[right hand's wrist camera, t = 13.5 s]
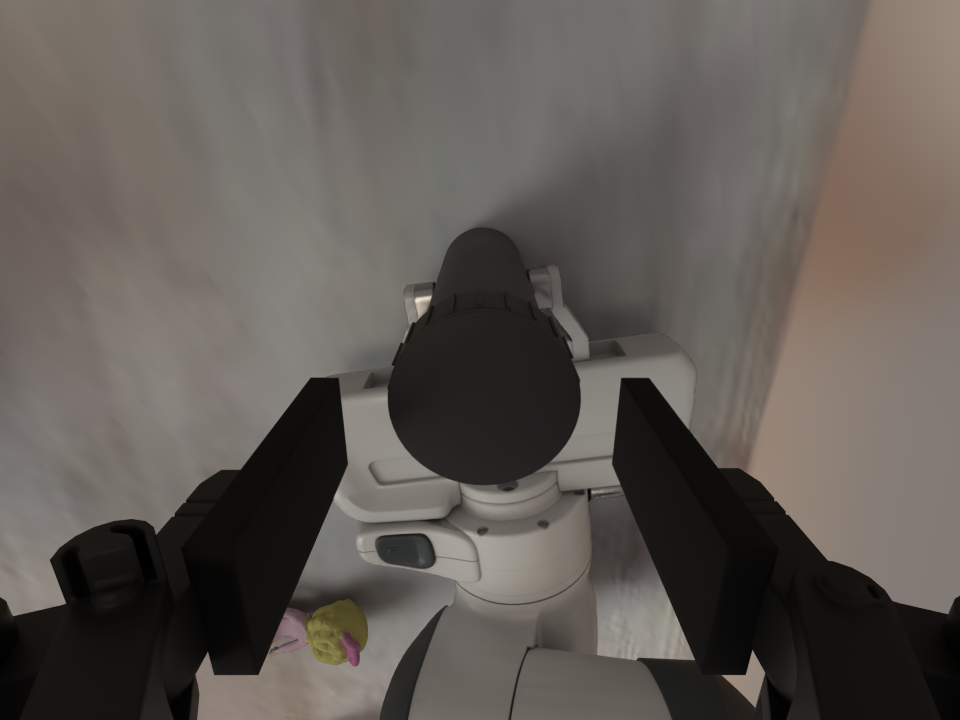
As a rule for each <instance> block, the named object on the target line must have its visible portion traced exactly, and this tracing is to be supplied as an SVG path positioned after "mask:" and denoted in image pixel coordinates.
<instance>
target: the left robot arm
mask: <svg viewBox="0 0 960 720" xmlns="http://www.w3.org/2000/svg"><path fill="white" fill-rule="evenodd" d="M527 276H528V279H529V282H530V285H531V287H532V290H533V293H534V296H535V298H536V301H537V304H538V307H539V309H549V308H550V310H551V312H552V313H553V314H554V316H555V317H556V318H557V320H558V321H559V322H560V324H561V325H562V326H563V327H561V328H557V330H558V331H559V333H560V335H561V337H563V336H564V337H565V339H566V341H567V343H568V346H569V348H570V350H571V352H572V355H573V357H574V358H573V359H572V361H573V364H574V366H575V368H576V371H577V373H578V375H579V378H580V381H581V383H580V389H581V406H580V414H579V417H578V421H577V425H576V427H575V429H574V431H573V434H572V436H571V437H570V439H569V441H568V442H567V444H566V445H565V447H564V448H563V449H562V450H561V452H560V453H559V454H558V455H557V456H556V457H555V458H554V459H553V460H552V461H551V462H549V463H548V464H547V465H545V466H544V467H543V468H541V469H540V470H538V471H536V472H534V473H533V474H531V475H529V476H526V477H524V478H522V479H519V480H516V481H512V482H509V483H503V484H498V485H471V484H465V483H460V482H456V481H452V480H449V479H447V478H444V477H442V476H439V475H438V474H436V473H434V472H432V471H430V470H429V469H427V468H426V467H424V466H423V465H421V464H420V463H419V462H418V461H417V460H416V459H414V458H413V457H412V456H411V455H410V453H409V452H408V451H407V450H406V449H405V448H404V446H403V445H402V443H401V442H400V440H399V439H398V437H397V435H396V433H395V431H394V429H393V426H392V423H391V420H390V416H389V410H388V390H387V387H388V384H389V381H390V377H391V374H392V371H393V368H394V367H390V368H382V369H374V370H367V371H359V372H351V373H343V374H335V375H330V376H328V377H326V378H339V383H340V393H341V402H342V411H343V420H344V430H345V439H346V448H347V458H348V466H347V468H346V471H345V473H344V475H343V478H342V480H341V482H340V485H339V487H338V489H337V492H336V494H335V496H334V499H333V500H334V502H335V503H336V504H337V506H338V507H339V508H340V509H341V510H342V511H343V512H344V513H345V514H347V515H348V516H350V517H352V518H353V519H356V520H359V522H358V528H357V535H356V546H357V550H358V553H359V555H360V556H361V558H362V559H363V560H365V561H367V562H369V563H372V564H377V565H383V566H391V567H398V568H404V569H410V570H416V571H421V572H426V573H431V574H435V575H439V576H442V577H446V578H449V579H452V580H454V581H455V584H456V594H455V599H454V602H453V604H452V605H451V606H447V605H446V606H445V607H443V608H442V609H441V610H440V611H439V612H438V613H437V614H436V615H435V616H434V617H433V618H432V619H431V620H430V621H429V623H428V624H427V625H426V627H425V628H424V629H423V630H422V631H421V633H420V634H419V635H418V636H417V638H416V639H415V640H414V641H413V643H412V644H411V645H410V647H409V648H408V649H407V651H406V652H405V654H404V655H403V657H402V659H401V661H400V662H399V664H398V666H397V668H396V670H395V672H394V675H393V677H392V680H391V682H390V685H389V687H388V690H387V693H386V696H385V699H384V702H383V706H382V710H381V714H380V720H753V716H754V712H755V707H754V706H753V705H752V704H751V703H750V702H749V701H748V700H747V699H746V698H745V697H744V696H743V695H742V694H741V693H740V692H739V691H738V690H737V689H736V688H735V687H734V686H733V685H732V684H731V683H729V682H728V681H727V680H726V679H725V678H724V677H723V676H722V675H701V672H700V670H699V668H698V665H697V663H696V661H695V660H677V659H654V658H638V659H637V660H629V659H622V658H614V657H607V656H600V655H597V644H598V629H597V606H596V596H595V592H594V588H593V585H592V583H591V580H590V578H589V576H588V572H589V569H590V565H591V560H592V540H591V527H590V514H589V504H588V501H590V500H593V499H602V498H611V497H618V496H621V495H622V496H623V495H625V494H624V492H623V489H622V487H621V485H620V482H619V480H618V478H617V475H616V473H615V471H614V468H613V466H612V458H613V448H614V439H615V430H616V420H617V411H618V402H619V393H620V383H621V378H650V379H651V381H652V382H653V383H654V385H655V386H656V387H657V389H658V390H659V391H660V393H661V394H662V395H663V397H664V398H665V399H666V400H667V402H668V403H669V404H670V406H671V407H672V408H673V410H674V411H675V412H676V414H677V415H678V416H679V418H680V419H681V420H682V422H683V423H684V424H685V425H686V427H687V428H688V429H689V431H690V425H691V420H692V414H693V407H694V399H695V389H696V367H695V364H694V362H693V360H692V359H691V357H690V356H689V355H688V353H687V352H686V351H685V350H684V349H683V348H682V347H681V346H680V345H679V344H678V343H676V342H675V341H674V340H672V339H671V338H670V337H669V336H667V335H666V334H664V333H650V334H642V335H635V336H627V337H619V338H612V339H604V340H596V341H588V336H587V335H586V333H585V331H584V329H583V327H582V326H581V324H580V323H579V321H578V320H577V319H576V317H575V316H574V314H573V313H572V312H571V310H570V309H569V308H568V306H567V305H566V304H565V302H564V301H563V300H562V290H561V278H560V273H559V269H558V267H557V266H556V264H555V265H548V266H541V267H534V268H528V269H527ZM435 285H436V283H435V282H428V283H420V284H411V285H406V287H405V289H404V302H405V307H406V312H407V317H408V322H409V325H408V327H407V330H406V333H405V335H404V338H403V341H402V343H404V341H405V339H406V336H407V334H408V331H409V329H410V326H411V324H412V322H415V323H416V322H417V320H418V319H419V318H420V317H421V316H422V315H423V314H424V313H425V312H427V309H428V306H429V303H430V300H431V297H432V294H433V291H434V288H435ZM762 720H763V717H762Z"/></svg>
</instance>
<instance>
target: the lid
mask: <svg viewBox="0 0 960 720" xmlns="http://www.w3.org/2000/svg"><path fill="white" fill-rule="evenodd" d="M573 358H574V357H573V355H572V352H571V350H570V348H569V346H568V343H567V341H566V339H565V337H564V336H563V337H561V335H560V333H559V331H558V330H557V328H556V327H555V324H554V322H553V320H552V318H551V317H550V316H549V317H547V316H546V315H545V314H544V313H543V312H541V311H540V310H539V309H538V308H536V307H535V306H534V305H533V302H531V301H529V302H527V301H525V300H522V299H520V298H518V297H515V296H512V295H509V293H508V292H506V291H505V293H500V292H494V291H482V289H478V291H475V292H468V293H463V294H459V295H456V293H455V294H452V297H450V298H447V299H446V300H444V301H442V302H440V303H438V304H436V305H435V306H433V305H430V306H429V309H428V311H427V312H425V313H424V314H423V315H422V316H421V317H420V318H419V319H418V320H417V322H416V323H415V322H412V324H411V326H410V329H409V331H408V334H407V336H406V339H405V341H404V343H402V342H401V344H400V346H399V348H398V351H397V353H396V356H395V358H394V360H393V363H392V365H393V366H394V368H393V371H392V374H391V377H390V381H389V384H388V387H387V390H388V410H389V416H390V420H391V423H392V426H393V429H394V431H395V433H396V435H397V437H398V439H399V440H400V442H401V443H402V445H403V446H404V448H405V449H406V450H407V451H408V452H409V453H410V455H411V456H412V457H413V458H414V459H416V460H417V461H418V462H419V463H420V464H421V465H423V466H424V467H426V468H427V469H429V470H430V471H432V472H434V473H436V474H438V475H439V476H442V477H444V478H447V479H449V480H452V481H456V482H460V483H465V484H471V485H498V484H503V483H509V482H512V481H516V480H519V479H522V478H524V477H526V476H529V475H531V474H533V473H534V472H536V471H538V470H540V469H541V468H543V467H544V466H545V465H547V464H548V463H549V462H551V461H552V460H553V459H554V458H555V457H556V456H557V455H558V454H559V453H560V452H561V450H562V449H563V448H564V447H565V445H566V444H567V442H568V441H569V439H570V437H571V436H572V434H573V431H574V429H575V427H576V425H577V421H578V417H579V414H580V406H581V389H580V383H581V381H580V378H579V375H578V373H577V371H576V368H575V366H574V364H573V361H572V359H573Z"/></svg>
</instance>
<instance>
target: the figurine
mask: <svg viewBox="0 0 960 720" xmlns="http://www.w3.org/2000/svg"><path fill="white" fill-rule="evenodd" d="M285 636H293V637H295V638H297V640H294V641H291V642H288V643H285V644H283V645H281V646H280V647H274V649H271V650H270V652H269V655H270V656H273V655H275V654H277V653H278V652H282V653H283V652H288V651H294V650H296V649H299V648H301V647H303V646H305V645H307V644H310V645H311V647H312V654H313V656H315V658H316V659H317V660H318V661H320V662H323V663H327V664H333V665H337V664H341V663H343V662H346V661H349V662H350V663H351V664H352V666H358V664H359V660H360V655H359V653H360V652H361V651H362V650H363V649H364V647H365V645H366V642H367V638H368V626H367V620H366V617H365V615H364V613H363V611H362V610H361V609H359V607H358V605H357V604H355V603H354V602H353V601H352V600H350V599H345V600H343V601H342V600H338V601H336V602H335V603H333V604H330V605H327V606H323V607H320V608H319V609H318V610H316V611H315V613H314V614H313V616H312V617H311V614H310V613H304V612H302V611H300V610H297V609H294V608H288V607H287V609H286V611H285V614H284V616H283V618H282V621H281V623H280V625H279V628H278V630H277V632H276V635H275V637H274V639H273V642H272V643H274V642H275V641H277V640H279V639H280V638H282V637H285Z"/></svg>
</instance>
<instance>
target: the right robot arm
mask: <svg viewBox="0 0 960 720" xmlns="http://www.w3.org/2000/svg"><path fill="white" fill-rule="evenodd" d="M347 466H348V458H347V448H346V439H345V430H344V420H343V411H342V402H341V393H340V383H339V378H310V379H309V381H308V382H307V383H306V385H305V386H304V387H303V389H302V390H301V391H300V393H299V394H298V395H297V397H296V398H295V399H294V400H293V402H292V403H291V404H290V406H289V407H288V408H287V410H286V411H285V412H284V414H283V415H282V416H281V418H280V419H279V420H278V422H277V423H276V424H275V425H274V427H273V428H272V429H271V431H270V432H269V433H268V435H267V436H266V437H265V439H264V440H263V441H262V443H261V444H260V445H259V446H258V448H257V449H256V450H255V452H254V453H253V454H252V456H251V457H250V458H249V460H248V461H247V462H246V464H245V465H244V466H243V467H242V469H241V470H220V471H219V472H217V473H216V474H214V475H213V476H211V477H210V478H208V479H207V480H205V481H204V482H202V483H201V484H199V486H198V487H197V488H196V489H195V490H194V491H193V493H192V494H191V495H190V496H189V497H188V499H187V500H186V503H183V504H182V506H181V507H180V508H179V509H178V510H177V511H176V513H175V516H174V517H171V518H170V520H169V521H168V522H167V523H166V524H165V525H164V527H163V528H162V529H161V530H160V531H159V533H158V534H157V535H156V534H155V530H154V527H153V526H151V525H150V524H149V523H147V522H146V521H141V520H134V519H128V520H120V521H113V522H109V523H106V524H103V525H100V526H96V527H93V528H91V529H89V530H87V531H85V532H83V533H81V534H79V535H77V536H75V537H74V538H72V539H71V540H70V541H68V542H67V543H66V544H64V545H63V546H62V547H60V548H59V549H58V551H57V552H56V553H55V554H54V556H53V557H52V558H51V559H50V562H51V564H52V567H53V570H54V572H55V575H56V578H57V580H58V583H59V585H60V588H61V591H62V593H63V596H64V599H65V601H66V604H64V605H61V606H56V607H52V608H47V609H43V610H39V611H34V612H30V613H26V614H21V615H17V616H12V614H11V611H10V609H9V607H8V604H7V602H6V601H5V600H4V599H2V598H0V720H197V714H198V703H199V689H198V683H197V680H196V676H195V674H196V672H197V670H198V669H199V667H200V665H201V663H202V661H203V659H204V658H205V656H206V654H207V652H208V653H209V657H210V661H211V664H212V668H213V672H214V675H259V672H260V670H261V668H262V665H263V663H264V661H265V658H266V656H267V653H268V651H269V649H270V646H271V644H272V642H273V639H274V637H275V635H276V632H277V630H278V628H279V625H280V623H281V621H282V618H283V616H284V614H285V611H286V609H287V607H288V604H289V602H290V600H291V597H292V595H293V593H294V590H295V588H296V586H297V583H298V581H299V579H300V576H301V574H302V571H303V569H304V567H305V564H306V562H307V560H308V557H309V555H310V553H311V550H312V548H313V546H314V543H315V541H316V539H317V536H318V534H319V532H320V529H321V527H322V525H323V522H324V520H325V518H326V515H327V513H328V511H329V508H330V506H331V504H332V501H333V499H334V496H335V494H336V492H337V489H338V487H339V485H340V482H341V480H342V478H343V475H344V473H345V471H346V468H347ZM612 466H613V468H614V471H615V473H616V475H617V478H618V480H619V482H620V485H621V487H622V489H623V492H624V494H625V496H626V499H627V501H628V504H629V506H630V508H631V511H632V513H633V515H634V518H635V520H636V522H637V525H638V527H639V529H640V532H641V534H642V536H643V539H644V541H645V543H646V546H647V548H648V550H649V553H650V555H651V557H652V560H653V562H654V564H655V567H656V569H657V571H658V574H659V576H660V579H661V581H662V583H663V586H664V588H665V590H666V593H667V595H668V597H669V600H670V602H671V604H672V607H673V609H674V611H675V614H676V616H677V618H678V621H679V623H680V625H681V628H682V630H683V632H684V635H685V637H686V639H687V642H688V644H689V646H690V649H691V651H692V653H693V656H694V658H695V661H696V663H697V665H698V668H699V670H700V672H701V675H746V672H747V668H748V664H749V660H750V657H751V653H752V650H753V651H754V653H755V655H756V657H757V659H758V660H759V662H760V664H761V666H762V667H763V669H764V671H765V676H764V680H763V683H762V687H761V690H760V694H759V697H758V701H757V704H756V708H755V712H754V716H753V720H762V717H763V720H960V596H959V597H957V598H956V599H955V600H954V602H953V604H952V607H951V609H950V611H949V614H944V613H940V612H935V611H931V610H927V609H922V608H918V607H914V606H909V605H905V604H900V603H897V602H894V601H892V600H891V598H890V597H889V595H888V594H887V593H886V591H885V590H884V589H883V588H882V587H881V586H879V585H878V584H877V583H876V582H875V581H873V580H872V579H871V578H870V577H868V576H866V575H864V574H862V573H861V572H859V571H857V570H855V569H853V568H851V567H848V566H845V565H842V564H839V563H837V562H834V561H828V560H827V559H826V558H825V557H824V556H823V555H822V553H821V552H820V551H819V550H818V549H817V548H816V546H815V545H814V544H813V543H812V542H811V541H810V539H809V538H808V537H807V536H806V535H805V534H804V532H803V531H802V530H801V529H800V528H799V527H798V525H797V524H796V523H795V522H794V521H793V520H792V518H791V517H790V516H789V515H786V512H785V510H784V509H783V508H782V507H781V506H780V505H779V503H778V502H777V501H774V497H773V496H772V495H771V494H770V493H769V492H768V491H767V489H766V488H765V487H764V486H763V485H762V483H761V482H759V481H758V480H756V479H755V478H753V477H752V476H750V475H749V474H747V473H745V472H744V471H742V470H741V469H739V468H718V467H717V466H716V465H715V464H714V462H713V461H712V460H711V458H710V457H709V456H708V454H707V453H706V452H705V450H704V449H703V448H702V446H701V445H700V444H699V443H698V441H697V440H696V439H695V437H694V436H693V435H692V433H691V432H690V431H689V429H688V428H687V427H686V425H685V424H684V423H683V422H682V420H681V419H680V418H679V416H678V415H677V414H676V412H675V411H674V410H673V408H672V407H671V406H670V404H669V403H668V402H667V400H666V399H665V398H664V397H663V395H662V394H661V393H660V391H659V390H658V389H657V387H656V386H655V385H654V383H653V382H652V381H651V379H650V378H621V383H620V393H619V402H618V411H617V420H616V430H615V439H614V448H613V458H612Z"/></svg>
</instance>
